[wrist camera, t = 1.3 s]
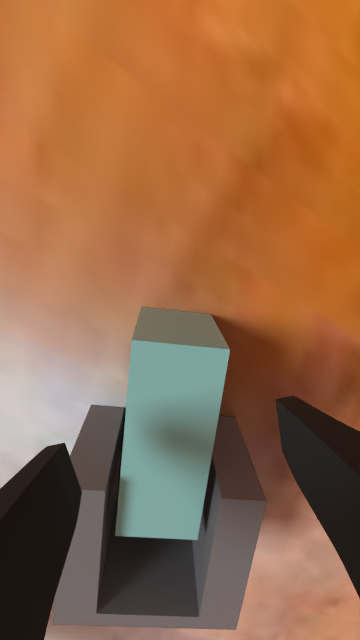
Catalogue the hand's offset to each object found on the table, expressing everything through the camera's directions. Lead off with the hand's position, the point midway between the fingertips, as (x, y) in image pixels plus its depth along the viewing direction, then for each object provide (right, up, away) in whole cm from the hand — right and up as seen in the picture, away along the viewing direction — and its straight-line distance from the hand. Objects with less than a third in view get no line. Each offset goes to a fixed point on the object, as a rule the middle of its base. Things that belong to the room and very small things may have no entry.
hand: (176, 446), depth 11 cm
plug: (-1, 0, +9) cm, 9 cm away
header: (-2, -8, +11) cm, 14 cm away
